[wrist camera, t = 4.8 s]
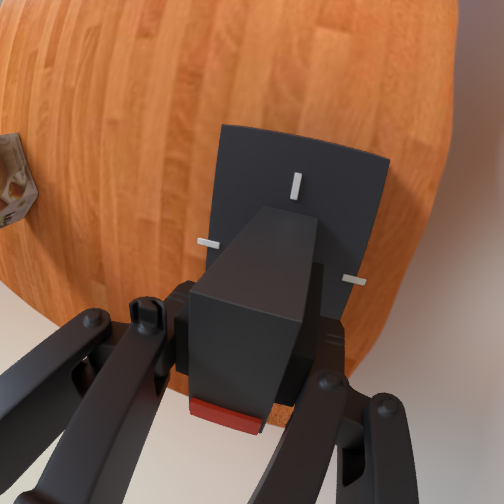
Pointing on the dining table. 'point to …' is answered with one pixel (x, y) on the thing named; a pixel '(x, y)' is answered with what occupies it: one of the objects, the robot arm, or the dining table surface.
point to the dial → (249, 319)
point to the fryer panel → (299, 198)
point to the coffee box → (14, 181)
